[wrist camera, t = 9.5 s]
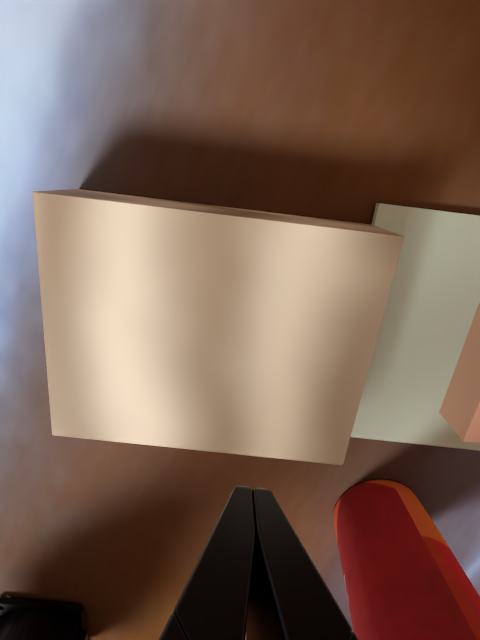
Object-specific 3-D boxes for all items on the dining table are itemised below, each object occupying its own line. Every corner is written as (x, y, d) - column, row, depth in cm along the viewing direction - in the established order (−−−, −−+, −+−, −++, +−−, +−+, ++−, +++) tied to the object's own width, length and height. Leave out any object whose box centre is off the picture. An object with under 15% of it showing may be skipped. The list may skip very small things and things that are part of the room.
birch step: (86, 390, 21) (52, 435, 18) (78, 188, 17) (32, 191, 14) (326, 415, 22) (342, 465, 18) (371, 224, 18) (404, 236, 14)
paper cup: (303, 543, 25) (363, 929, 12) (337, 455, 23) (460, 831, 10) (411, 561, 26) (580, 952, 13) (457, 477, 23) (730, 865, 10)
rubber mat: (322, 429, 22) (324, 434, 22) (376, 202, 17) (379, 203, 17) (535, 452, 22) (539, 456, 22) (642, 235, 18) (651, 236, 17)
